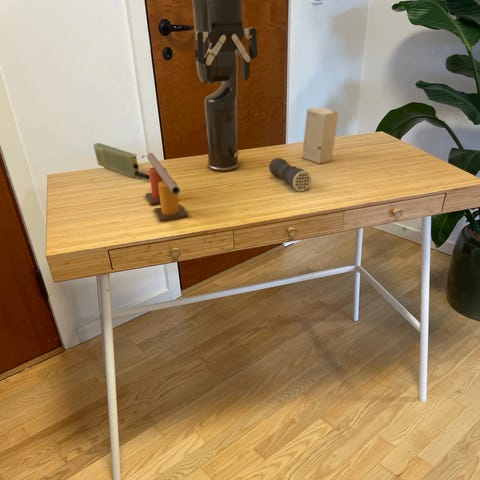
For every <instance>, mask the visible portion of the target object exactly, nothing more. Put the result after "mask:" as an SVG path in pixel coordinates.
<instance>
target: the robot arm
mask: <svg viewBox="0 0 480 480" xmlns="http://www.w3.org/2000/svg"><path fill="white" fill-rule="evenodd" d="M192 10H193V21H194V60H195V62H196V71H197V74H198V75H197V76H198V78H199V80H200V82H201V83H204V84H209V85H213V84H214V83H221V85H220V86H219V87H218V88H217V89H216V90H215V91H214V92H211V93H210V94H208V95H207V96H205V98H204V111H205V112H204V113H205V129H206V142H207V143H206V144H207V145H206V146H207V161H208V164H207V165H208V166H207V167H208V169H210V170H211V171H215V172H229V171H233V170H235V169H237V168H239V155H240V151H239V147H238V146H239V145H238V143H239V142H238V109H237V108H238V106H237V105H238V104H237V100H238V69H239V68H238V56H239V57H240V59H241V63H240V64H241V65H240V67H241V69H240V73H241V80H243V81H248V78H250V75H251V74H250V73H251V72H250V71H251V70H250V68H251V67H250V66H251V65H250V63H251V61H252V60H254V59H257V58H258V38H257V37H258V35H257V34H258V33H257V28H256V27H251V26H248V27H247V28H244V26H243V0H192ZM244 36H245V39H247V46H248V47H247V48H248V51H247V50H246V48H245V46H244V45H243V44H242V40H243V38H244Z"/></svg>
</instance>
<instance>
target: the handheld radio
mask: <svg viewBox="0 0 480 480" xmlns="http://www.w3.org/2000/svg"><path fill="white" fill-rule="evenodd" d="M93 149H94V154H95V158H96V162H97V165H98V166H100V167H103V168H106V169H109V170H112V171H114V172H117V173H120V174H122V175H126V176H128V177H130V178H134V179H141V178H143V179H145V180H150V176H149V174H147V173H144V172H141V171H140V169H139V164H138V159H137V156H138V155H137V154H136V153H132V152H129V151H126V150H123V149H119V148H116V147H113V146H110V145H107V144H103V143H100V142H96V143H94V144H93Z"/></svg>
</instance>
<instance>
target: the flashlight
mask: <svg viewBox="0 0 480 480" xmlns="http://www.w3.org/2000/svg"><path fill="white" fill-rule="evenodd" d="M268 170H269V172H270V174H271V175H272V176H274V177H276V178H277V179H281V180H284V183H286V184H287V185H289V186H290V188H292V189H294V190H296V191H297V192H304V191H306V190H307V189H308V188H309V187H310V185H311V183H312V176H311V174H310V173H309V172H308V171H306V170H304V169H302V168H299V167H297V166H295V165H290V163H288V162H287V161H286V160H285V159H284V158H281V157H276V158H273V159H272V160H271V161H270V162H269V165H268Z"/></svg>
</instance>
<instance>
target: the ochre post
mask: <svg viewBox="0 0 480 480" xmlns="http://www.w3.org/2000/svg"><path fill="white" fill-rule="evenodd" d="M173 181H174V182H175V183H176V184H177V181H175V180H173ZM158 188H159V195H160V203H161V204H160V206H159V207H155V208H153V211H154V213H155V215H156V217H157V218H158V220H159V222H160V223H163V222H169V221H174V220H180V219H185V218H189V215H188V213H187V211H186V210H185V208H184V207H183V206H182V204H181V203H180V202H179V194H177V195H174V194H173V193H172V192H171V191H170V189H169V188H168V186H167V185H166V184H165V182H164V181H161V182H159V183H158Z"/></svg>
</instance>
